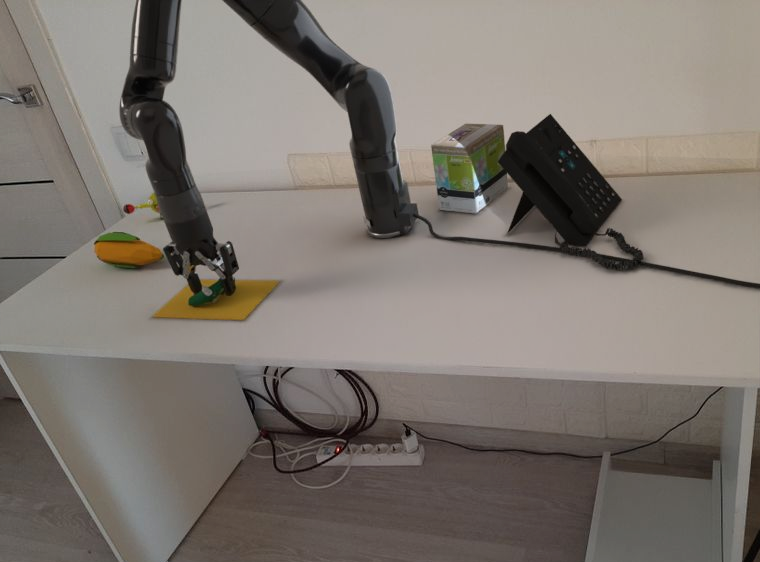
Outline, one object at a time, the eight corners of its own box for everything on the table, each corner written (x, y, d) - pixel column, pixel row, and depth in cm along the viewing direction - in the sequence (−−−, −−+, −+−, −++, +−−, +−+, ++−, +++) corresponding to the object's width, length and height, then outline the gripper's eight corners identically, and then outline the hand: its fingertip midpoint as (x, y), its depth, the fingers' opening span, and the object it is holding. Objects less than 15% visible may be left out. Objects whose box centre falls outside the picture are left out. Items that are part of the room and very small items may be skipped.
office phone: (635, 275, 116) (636, 158, 104) (484, 258, 129) (471, 153, 118) (678, 205, 135) (683, 100, 124) (544, 196, 149) (537, 101, 138)
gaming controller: (199, 317, 130) (207, 301, 126) (185, 302, 130) (192, 286, 126) (234, 293, 136) (242, 278, 132) (220, 279, 136) (228, 263, 132)
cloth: (279, 282, 134) (279, 280, 134) (243, 320, 123) (243, 319, 123) (194, 281, 141) (193, 279, 141) (152, 317, 130) (152, 316, 130)
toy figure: (128, 230, 172) (117, 204, 168) (131, 222, 176) (120, 197, 172) (200, 213, 174) (191, 187, 170) (201, 205, 178) (192, 180, 175)
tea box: (478, 214, 146) (470, 146, 138) (438, 211, 151) (428, 144, 143) (510, 187, 156) (503, 122, 148) (471, 184, 161) (463, 121, 153)
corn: (103, 223, 155) (166, 228, 146) (118, 252, 160) (181, 259, 151) (78, 239, 150) (142, 246, 141) (94, 269, 155) (157, 277, 146)
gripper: (229, 203, 123) (257, 284, 132) (164, 204, 127) (194, 283, 137) (206, 221, 117) (236, 304, 126) (138, 222, 122) (172, 302, 131)
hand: (214, 293), depth 131 cm, fingers closed on gaming controller, 6 cm apart
